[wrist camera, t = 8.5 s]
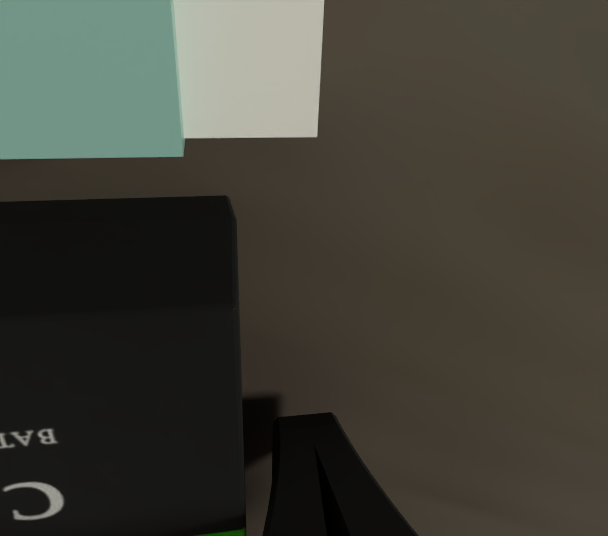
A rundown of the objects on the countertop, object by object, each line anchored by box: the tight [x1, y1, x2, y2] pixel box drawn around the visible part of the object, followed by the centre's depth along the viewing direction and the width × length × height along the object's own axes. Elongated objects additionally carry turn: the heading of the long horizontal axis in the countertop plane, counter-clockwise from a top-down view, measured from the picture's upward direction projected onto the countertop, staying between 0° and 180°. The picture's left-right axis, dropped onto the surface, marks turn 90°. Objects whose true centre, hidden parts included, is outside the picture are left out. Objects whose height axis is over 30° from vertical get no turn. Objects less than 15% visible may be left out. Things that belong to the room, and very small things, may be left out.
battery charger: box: [0, 196, 246, 536], centre depth 11 cm, size 13×10×4 cm
